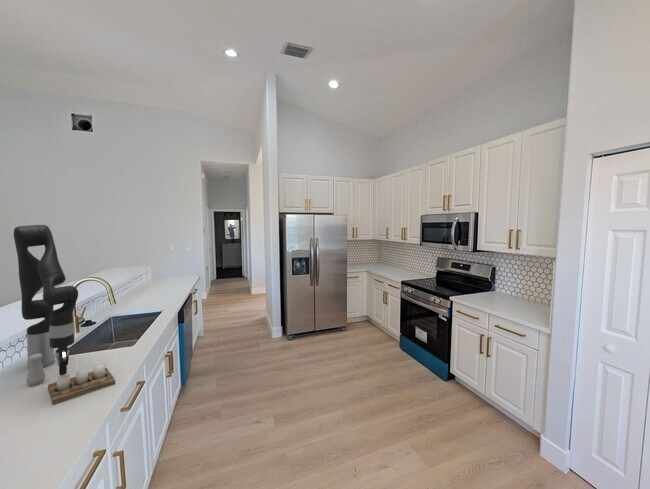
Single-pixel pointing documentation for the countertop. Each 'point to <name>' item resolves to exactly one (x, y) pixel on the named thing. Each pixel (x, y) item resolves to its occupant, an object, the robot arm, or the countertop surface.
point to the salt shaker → (35, 370)
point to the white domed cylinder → (63, 382)
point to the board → (80, 387)
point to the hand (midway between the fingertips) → (63, 374)
